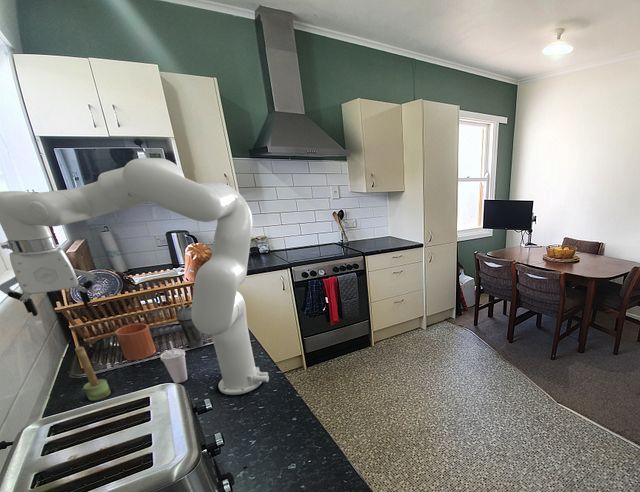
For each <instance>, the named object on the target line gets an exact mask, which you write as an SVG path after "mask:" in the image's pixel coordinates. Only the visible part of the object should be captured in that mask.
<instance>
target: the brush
mask: <svg viewBox="0 0 640 492" xmlns="http://www.w3.org/2000/svg"><path fill="white" fill-rule="evenodd" d="M74 351H75V353H76V356H77V357H78V359H79V362H80V364H81V366H82V369H83V371H84V374H85V376H86V379H87V381H88V382H87V383H85V384H84V385H83V390H84V393H85V394H86V396H87V399H88V400H89V401H98V400H99V401H100V400H102V399H105V398H106V397H108V396H109V395H111V393H112V392H111V391H112V390H111V389H110V387H109V384H108V382H107V380H106V379H104V378H103V379H102V378H101V379H99V378H98V377H97V375H96V373H95V370H94V368H93V365H92V363H91V361H90V359H89V356H88V354H87V352H86V349H85V347H84V346H78V347H75V348H74Z"/></svg>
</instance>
